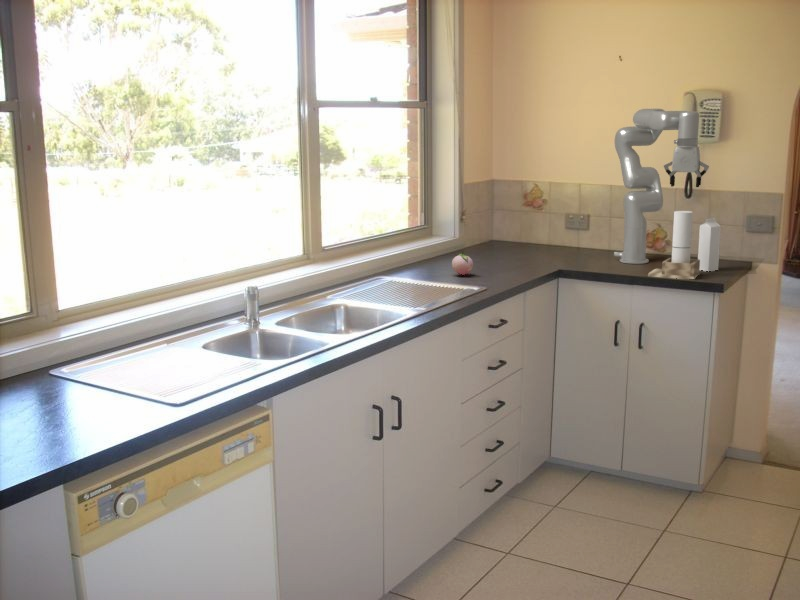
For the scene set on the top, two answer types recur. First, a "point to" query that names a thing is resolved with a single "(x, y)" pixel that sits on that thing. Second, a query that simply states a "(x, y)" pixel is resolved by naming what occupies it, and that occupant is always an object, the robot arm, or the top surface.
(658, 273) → the board
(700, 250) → the milk
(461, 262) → the decorative fruit
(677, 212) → the cylindrical container
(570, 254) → the top surface
